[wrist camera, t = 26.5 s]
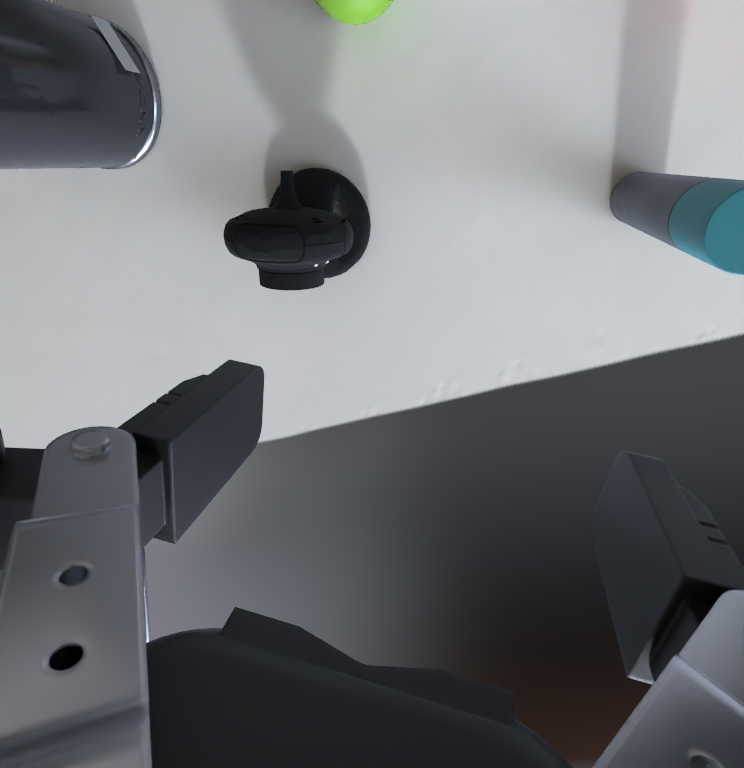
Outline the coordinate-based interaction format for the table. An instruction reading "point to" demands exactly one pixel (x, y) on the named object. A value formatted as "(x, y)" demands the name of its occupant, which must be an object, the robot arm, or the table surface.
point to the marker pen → (687, 214)
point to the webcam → (302, 231)
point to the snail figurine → (354, 9)
